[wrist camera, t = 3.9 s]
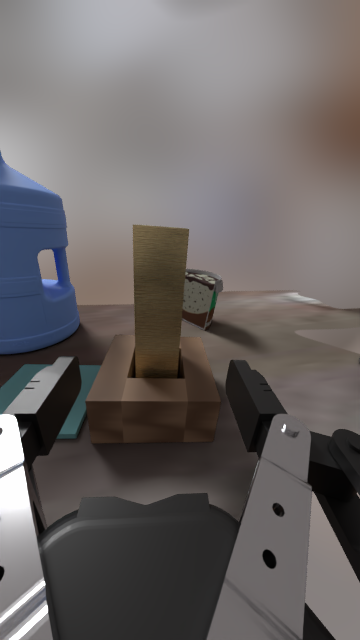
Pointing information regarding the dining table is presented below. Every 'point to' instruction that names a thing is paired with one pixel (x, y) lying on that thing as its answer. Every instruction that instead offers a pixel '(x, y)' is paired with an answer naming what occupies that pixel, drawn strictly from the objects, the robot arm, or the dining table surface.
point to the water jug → (32, 266)
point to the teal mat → (73, 423)
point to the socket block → (153, 398)
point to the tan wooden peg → (158, 298)
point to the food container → (200, 297)
